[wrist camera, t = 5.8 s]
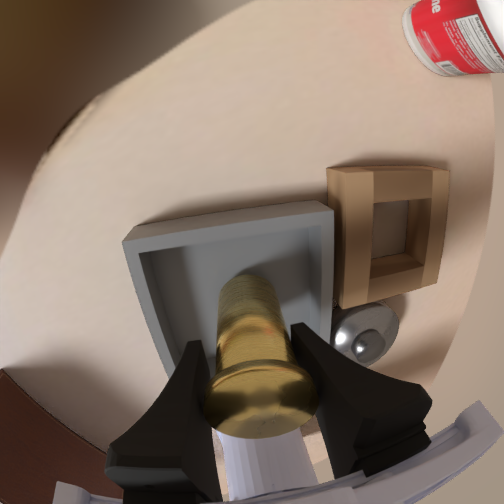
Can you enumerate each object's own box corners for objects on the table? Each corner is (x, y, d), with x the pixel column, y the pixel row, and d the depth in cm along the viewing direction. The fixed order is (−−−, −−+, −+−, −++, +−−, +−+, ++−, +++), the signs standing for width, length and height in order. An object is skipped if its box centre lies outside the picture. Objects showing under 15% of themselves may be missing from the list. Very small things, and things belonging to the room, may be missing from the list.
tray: (315, 340, 20) (327, 363, 17) (175, 363, 19) (174, 389, 16) (315, 199, 16) (333, 210, 13) (134, 226, 15) (121, 242, 12)
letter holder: (2, 366, 17) (-48, 468, 4) (129, 464, 25) (124, 555, 12) (-21, 384, 18) (-58, 462, 5) (87, 469, 25) (78, 543, 12)
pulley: (381, 346, 21) (396, 366, 19) (317, 364, 21) (329, 389, 18) (392, 287, 19) (412, 305, 17) (320, 304, 19) (336, 328, 16)
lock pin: (283, 325, 17) (313, 430, 10) (216, 331, 17) (214, 441, 10) (283, 264, 15) (324, 367, 8) (206, 271, 15) (192, 381, 8)
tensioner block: (417, 269, 19) (436, 282, 17) (327, 290, 18) (342, 309, 16) (426, 165, 16) (449, 171, 14) (326, 168, 15) (345, 172, 13)
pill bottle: (425, 0, 11) (527, -30, 1) (465, 63, 13) (571, 61, 3) (383, 16, 12) (506, -32, 1) (431, 89, 14) (563, 90, 4)
